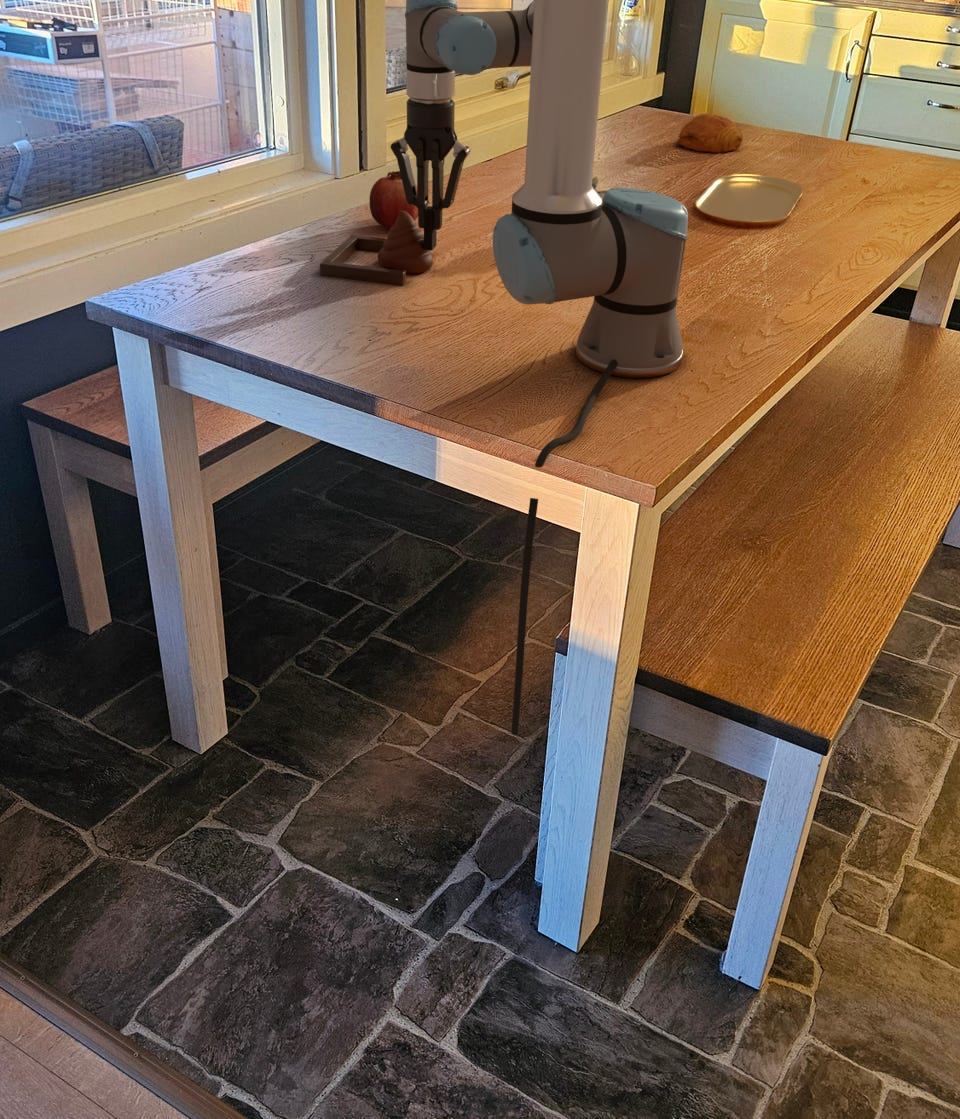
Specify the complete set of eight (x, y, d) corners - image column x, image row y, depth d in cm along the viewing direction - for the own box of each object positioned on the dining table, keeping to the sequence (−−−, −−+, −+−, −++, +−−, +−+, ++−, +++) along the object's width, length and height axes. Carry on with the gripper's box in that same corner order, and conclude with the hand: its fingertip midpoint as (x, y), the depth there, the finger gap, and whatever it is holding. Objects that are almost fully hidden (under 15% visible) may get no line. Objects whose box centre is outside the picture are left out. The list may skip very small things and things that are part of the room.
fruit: (389, 214, 210) (389, 161, 204) (433, 224, 206) (433, 170, 200) (357, 228, 202) (355, 173, 196) (401, 239, 198) (401, 183, 192)
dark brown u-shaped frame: (403, 285, 179) (403, 273, 177) (320, 275, 181) (319, 263, 180) (430, 254, 191) (430, 243, 190) (352, 245, 194) (351, 234, 193)
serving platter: (684, 220, 213) (685, 212, 212) (722, 177, 240) (723, 169, 239) (780, 234, 208) (781, 226, 207) (807, 189, 234) (809, 181, 233)
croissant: (701, 144, 272) (703, 110, 269) (751, 149, 262) (754, 113, 258) (662, 150, 265) (664, 115, 261) (712, 155, 254) (714, 118, 250)
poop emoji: (367, 265, 186) (366, 210, 180) (399, 253, 192) (399, 199, 186) (412, 279, 181) (412, 223, 176) (444, 266, 187) (445, 211, 182)
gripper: (476, 97, 171) (472, 244, 184) (398, 90, 173) (400, 236, 187) (464, 107, 165) (461, 259, 178) (383, 99, 167) (386, 250, 181)
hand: (430, 247), depth 182 cm, fingers closed
